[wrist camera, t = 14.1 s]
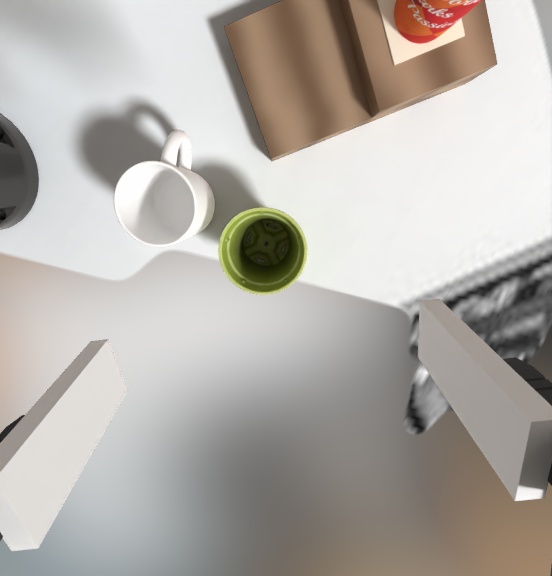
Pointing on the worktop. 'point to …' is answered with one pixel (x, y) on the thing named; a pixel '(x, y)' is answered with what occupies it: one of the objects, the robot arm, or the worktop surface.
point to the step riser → (346, 66)
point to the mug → (164, 197)
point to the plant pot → (262, 251)
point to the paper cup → (429, 17)
